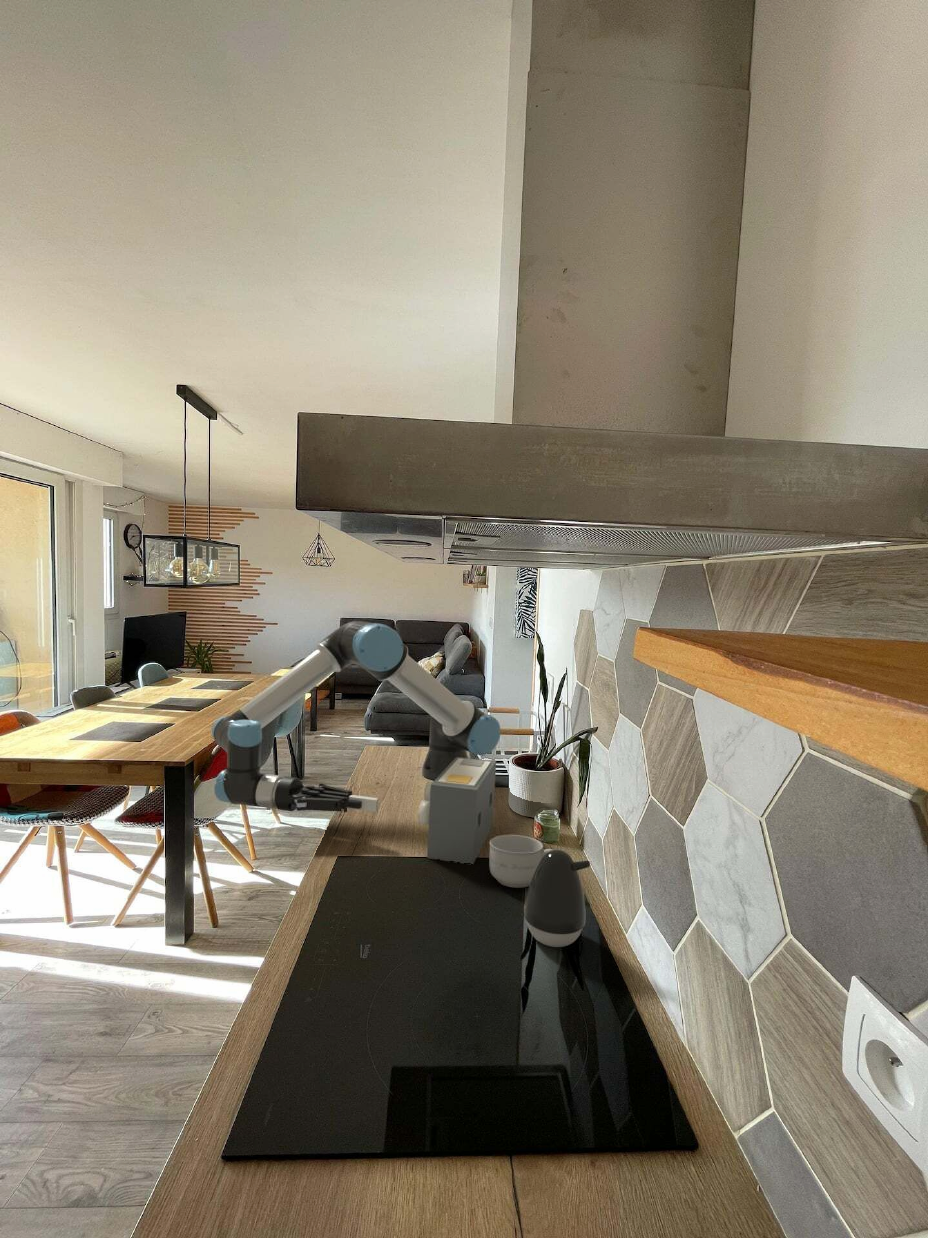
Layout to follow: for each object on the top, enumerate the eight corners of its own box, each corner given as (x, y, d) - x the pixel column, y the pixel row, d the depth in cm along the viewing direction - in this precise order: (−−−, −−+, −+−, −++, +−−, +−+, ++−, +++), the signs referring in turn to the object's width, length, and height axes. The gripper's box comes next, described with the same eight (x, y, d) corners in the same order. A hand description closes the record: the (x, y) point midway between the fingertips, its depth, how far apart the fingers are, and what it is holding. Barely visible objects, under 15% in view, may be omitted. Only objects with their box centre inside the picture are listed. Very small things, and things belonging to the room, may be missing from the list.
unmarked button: (429, 798, 161) (430, 778, 161) (458, 802, 160) (459, 782, 160) (423, 805, 157) (424, 784, 156) (454, 809, 155) (455, 788, 155)
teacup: (478, 884, 129) (480, 844, 128) (501, 865, 138) (503, 828, 138) (544, 903, 122) (547, 862, 122) (563, 882, 132) (566, 843, 131)
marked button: (423, 819, 147) (424, 797, 147) (456, 823, 146) (457, 801, 145) (417, 826, 142) (418, 804, 142) (450, 831, 141) (451, 808, 140)
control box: (453, 820, 163) (456, 754, 162) (492, 825, 161) (496, 759, 160) (427, 858, 140) (431, 782, 139) (472, 864, 137) (477, 787, 137)
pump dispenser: (579, 962, 103) (585, 868, 103) (516, 946, 107) (521, 856, 106) (589, 931, 113) (595, 845, 112) (531, 918, 116) (536, 834, 116)
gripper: (293, 800, 158) (385, 812, 153) (266, 818, 145) (366, 831, 141) (294, 769, 158) (387, 780, 153) (267, 785, 145) (367, 797, 140)
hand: (376, 805), depth 147 cm, fingers closed
